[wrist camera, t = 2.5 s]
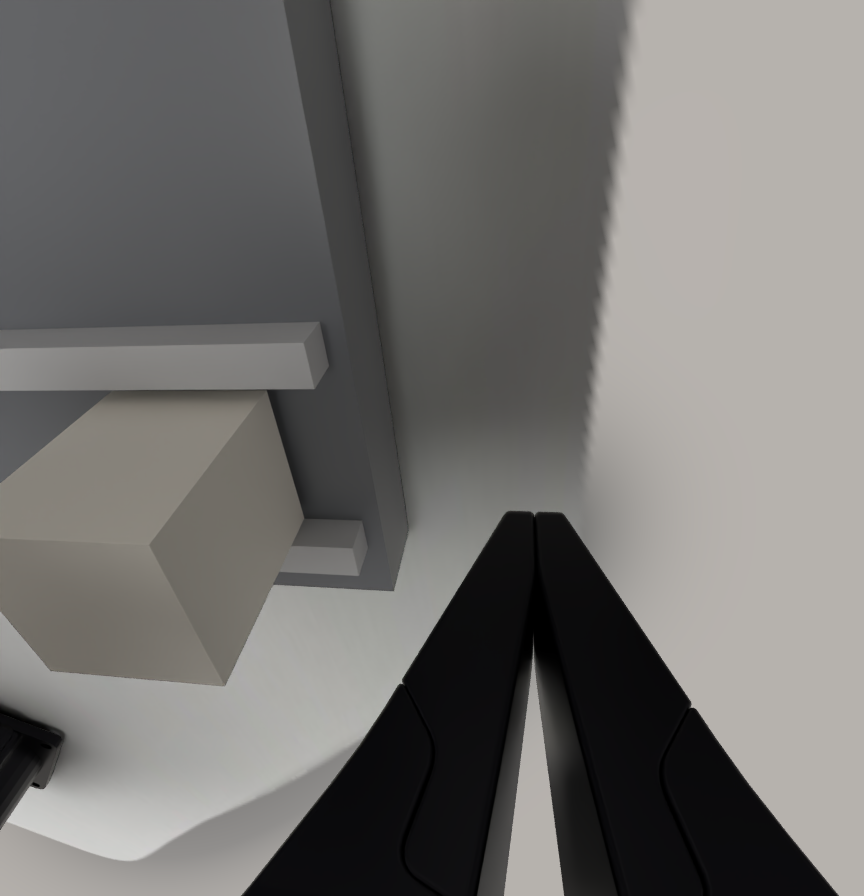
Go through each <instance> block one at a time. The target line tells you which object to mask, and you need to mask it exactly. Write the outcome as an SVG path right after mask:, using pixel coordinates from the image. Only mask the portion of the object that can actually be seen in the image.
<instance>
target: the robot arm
mask: <svg viewBox="0 0 864 896" xmlns="http://www.w3.org/2000/svg"><path fill="white" fill-rule="evenodd" d="M533 645H534V662H535V672H536V681H537V689H538V695H539V704H540V711H541V720H542V727H543V735H544V743H545V750H546V758H547V766H548V774H549V781H550V789H551V797H552V805H553V812H554V819H555V828H556V835H557V843H558V851H559V858H560V867H561V874H562V882H563V890H564V896H839V895H838V894H837V893H836V892H835V891H834V889H833V888H832V887H831V886H830V884H829V883H828V882H827V881H826V880H825V878H824V877H823V876H822V875H821V874H820V872H819V871H818V870H817V869H816V867H815V866H814V865H813V864H812V862H811V861H810V860H809V859H808V858H807V856H806V855H805V854H804V853H803V852H802V850H801V849H800V848H799V847H798V845H797V844H796V843H795V842H794V841H793V839H792V838H791V837H790V836H789V835H788V833H787V832H786V831H785V829H784V828H783V827H782V826H781V824H780V823H779V822H778V821H777V819H776V818H775V817H774V815H773V814H772V813H771V812H770V810H769V809H768V808H767V807H766V805H765V804H764V803H763V802H762V800H761V799H760V798H759V796H758V795H757V794H756V793H755V791H754V790H753V789H752V788H751V786H750V785H749V784H748V782H747V781H746V780H745V778H744V777H743V776H742V774H741V773H740V771H739V770H738V769H737V767H736V766H735V764H734V763H733V762H732V760H731V759H730V757H729V756H728V755H727V753H726V752H725V750H724V749H723V748H722V746H721V745H720V744H719V742H718V741H717V739H716V738H715V736H714V735H713V733H712V732H711V730H710V729H709V728H708V726H707V724H706V723H705V721H704V720H703V718H702V717H701V715H700V714H699V713H698V711H697V710H696V709H695V708H690V707H691V701H690V700H689V698H688V697H687V695H686V694H685V692H684V691H683V689H682V688H681V686H680V685H679V684H678V682H677V681H676V679H675V678H674V676H673V675H672V673H671V672H670V670H669V669H668V667H667V666H666V664H665V663H664V661H663V660H662V658H661V657H660V656H659V654H658V652H657V651H656V649H655V648H654V647H653V645H652V644H651V642H650V641H649V639H648V638H647V636H646V635H645V633H644V632H643V630H642V629H641V627H640V626H639V624H638V623H637V621H636V620H635V618H634V617H633V615H632V614H631V613H630V611H629V610H628V608H627V607H626V605H625V604H624V602H623V601H622V599H621V598H620V596H619V595H618V593H617V592H616V591H615V589H614V587H613V586H612V585H611V583H610V581H609V580H608V579H607V577H606V576H605V574H604V573H603V571H602V570H601V568H600V567H599V565H598V564H597V562H596V561H595V559H594V558H593V556H592V555H591V554H590V552H589V550H588V549H587V548H586V546H585V545H584V543H583V542H582V540H581V539H580V537H579V536H578V534H577V533H576V531H575V530H574V528H573V527H572V525H571V524H570V522H569V521H568V519H567V518H566V517H565V515H564V514H562V513H560V512H537V513H536V514H535V517H534V514H533V513H532V512H530V511H508V512H506V513H505V514H504V516H503V517H502V519H501V521H500V522H499V524H498V525H497V527H496V529H495V530H494V532H493V533H492V535H491V537H490V538H489V540H488V542H487V543H486V545H485V546H484V548H483V550H482V551H481V553H480V554H479V556H478V558H477V559H476V561H475V563H474V564H473V566H472V567H471V569H470V571H469V572H468V574H467V575H466V577H465V579H464V580H463V582H462V584H461V585H460V587H459V588H458V590H457V592H456V593H455V595H454V596H453V598H452V600H451V601H450V603H449V605H448V606H447V608H446V609H445V611H444V613H443V614H442V616H441V617H440V619H439V621H438V622H437V624H436V626H435V627H434V629H433V630H432V632H431V634H430V635H429V637H428V638H427V640H426V642H425V643H424V645H423V647H422V648H421V650H420V651H419V653H418V655H417V656H416V658H415V659H414V661H413V663H412V664H411V666H410V668H409V669H408V671H407V672H406V674H405V676H404V677H403V679H402V683H403V684H399V685H398V686H397V688H396V690H395V691H394V693H393V695H392V696H391V698H390V699H389V701H388V703H387V704H386V706H385V707H384V709H383V711H382V712H381V714H380V715H379V717H378V718H377V720H376V721H375V723H374V724H373V726H372V727H371V729H370V730H369V732H368V733H367V735H366V736H365V738H364V739H363V741H362V742H361V744H360V745H359V747H358V748H357V749H356V750H355V752H354V753H353V755H352V756H351V757H350V759H349V760H348V761H347V763H346V764H345V765H344V766H343V768H342V769H341V770H340V772H339V773H338V774H337V776H336V777H335V779H334V780H333V781H332V782H331V784H330V785H329V786H328V788H327V789H326V790H325V791H324V793H323V794H322V795H321V796H320V798H319V799H318V800H317V801H316V803H315V804H314V805H313V806H312V808H311V809H310V810H309V811H308V813H307V814H306V815H305V817H304V818H303V819H302V820H301V822H300V823H299V824H298V825H297V827H296V828H295V829H294V830H293V832H292V833H291V834H290V836H289V837H288V838H287V839H286V841H285V842H284V843H283V845H282V846H281V847H280V848H279V849H278V851H277V852H276V853H275V854H274V856H273V857H272V858H271V859H270V861H269V862H268V863H267V864H266V866H265V867H264V868H263V869H262V871H261V872H260V873H259V875H258V876H257V877H256V878H255V880H254V881H253V882H252V883H251V885H250V886H249V887H248V888H247V889H246V891H245V892H244V893H243V894H242V895H241V896H504V888H505V881H506V873H507V865H508V857H509V849H510V841H511V832H512V824H513V816H514V808H515V800H516V792H517V784H518V776H519V768H520V759H521V751H522V743H523V735H524V727H525V719H526V711H527V703H528V695H529V686H530V679H531V669H532V659H533ZM62 743H63V739H62V738H61V737H60V736H58V735H56V734H54V733H51V732H49V731H46V730H43V729H41V728H38V727H35V726H33V725H30V724H27V723H25V722H22V721H19V720H17V719H14V718H11V717H9V716H6V715H3V714H1V713H0V830H1V828H2V827H3V825H4V824H5V822H6V821H7V819H8V818H9V816H10V815H11V813H12V812H13V810H14V809H15V807H16V806H17V804H18V803H19V801H20V800H21V798H22V797H23V795H24V794H25V792H26V791H27V789H28V788H29V786H31V787H34V788H38V789H44V788H45V787H46V786H47V784H48V783H49V781H50V779H51V776H52V773H53V770H54V767H55V764H56V761H57V758H58V755H59V752H60V749H61V746H62Z"/></svg>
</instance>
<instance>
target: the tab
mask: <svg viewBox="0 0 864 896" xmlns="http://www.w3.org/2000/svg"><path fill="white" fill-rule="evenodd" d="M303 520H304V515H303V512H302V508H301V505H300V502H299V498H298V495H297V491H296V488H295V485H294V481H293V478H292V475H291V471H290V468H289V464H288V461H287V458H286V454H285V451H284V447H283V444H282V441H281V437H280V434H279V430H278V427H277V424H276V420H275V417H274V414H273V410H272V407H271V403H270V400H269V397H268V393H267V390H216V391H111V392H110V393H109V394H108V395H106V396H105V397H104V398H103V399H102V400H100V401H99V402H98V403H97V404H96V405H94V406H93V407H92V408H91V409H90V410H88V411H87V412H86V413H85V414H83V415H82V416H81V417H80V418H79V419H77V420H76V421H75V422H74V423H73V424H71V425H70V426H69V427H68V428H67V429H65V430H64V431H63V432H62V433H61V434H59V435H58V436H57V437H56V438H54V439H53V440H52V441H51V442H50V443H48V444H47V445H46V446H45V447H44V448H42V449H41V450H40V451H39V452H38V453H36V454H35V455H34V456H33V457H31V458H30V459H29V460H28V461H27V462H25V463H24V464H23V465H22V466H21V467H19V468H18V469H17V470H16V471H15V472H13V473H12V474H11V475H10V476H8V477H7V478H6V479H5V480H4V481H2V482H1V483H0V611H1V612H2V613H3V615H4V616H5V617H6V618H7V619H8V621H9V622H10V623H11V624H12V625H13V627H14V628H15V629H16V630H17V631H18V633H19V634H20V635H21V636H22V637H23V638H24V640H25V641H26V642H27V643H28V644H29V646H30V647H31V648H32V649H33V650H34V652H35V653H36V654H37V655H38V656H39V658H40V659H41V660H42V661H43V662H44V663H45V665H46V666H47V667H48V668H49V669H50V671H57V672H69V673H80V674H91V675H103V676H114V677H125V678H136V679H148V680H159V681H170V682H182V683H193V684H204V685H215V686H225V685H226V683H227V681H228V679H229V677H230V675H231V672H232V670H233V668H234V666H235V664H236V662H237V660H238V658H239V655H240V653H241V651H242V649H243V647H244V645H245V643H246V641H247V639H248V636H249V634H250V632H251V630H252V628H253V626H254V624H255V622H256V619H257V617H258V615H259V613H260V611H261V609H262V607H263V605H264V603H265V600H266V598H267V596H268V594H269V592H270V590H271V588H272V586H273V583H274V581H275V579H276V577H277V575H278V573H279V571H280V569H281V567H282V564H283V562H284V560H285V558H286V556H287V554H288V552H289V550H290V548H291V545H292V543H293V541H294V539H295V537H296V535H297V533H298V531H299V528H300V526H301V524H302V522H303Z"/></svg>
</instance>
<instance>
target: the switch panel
mask: <svg viewBox="0 0 864 896" xmlns="http://www.w3.org/2000/svg"><path fill="white" fill-rule="evenodd" d="M216 390H267V393H268V397H269V400H270V403H271V407H272V410H273V414H274V417H275V420H276V424H277V427H278V430H279V434H280V437H281V441H282V444H283V447H284V451H285V454H286V458H287V461H288V464H289V468H290V471H291V475H292V478H293V481H294V485H295V488H296V491H297V495H298V498H299V502H300V505H301V508H302V512H303V515H304V520H303V522H302V524H301V526H300V528H299V531H298V533H297V535H296V537H295V539H294V541H293V543H292V545H291V548H290V550H289V552H288V554H287V556H286V558H285V560H284V562H283V564H282V567H281V569H280V571H279V573H278V575H277V577H276V579H275V581H274V583H273V585H291V586H309V587H327V588H345V589H363V590H381V591H394V588H395V584H396V580H397V576H398V572H399V568H400V564H401V560H402V555H403V551H404V547H405V543H406V539H407V535H408V531H409V530H408V523H407V516H406V509H405V503H404V496H403V489H402V483H401V476H400V469H399V463H398V456H397V449H396V442H395V436H394V429H393V422H392V416H391V409H390V402H389V396H388V389H387V382H386V375H385V369H384V362H383V355H382V349H381V342H380V335H379V328H378V322H377V315H376V308H375V302H374V295H373V288H372V282H371V275H370V268H369V261H368V255H367V248H366V241H365V235H364V228H363V221H362V215H361V208H360V201H359V194H358V188H357V181H356V174H355V168H354V161H353V154H352V148H351V141H350V134H349V127H348V121H347V114H346V107H345V101H344V94H343V87H342V81H341V74H340V67H339V60H338V54H337V47H336V40H335V34H334V27H333V20H332V14H331V7H330V0H0V483H1V482H2V481H4V480H5V479H6V478H7V477H8V476H10V475H11V474H12V473H13V472H15V471H16V470H17V469H18V468H19V467H21V466H22V465H23V464H24V463H25V462H27V461H28V460H29V459H30V458H31V457H33V456H34V455H35V454H36V453H38V452H39V451H40V450H41V449H42V448H44V447H45V446H46V445H47V444H48V443H50V442H51V441H52V440H53V439H54V438H56V437H57V436H58V435H59V434H61V433H62V432H63V431H64V430H65V429H67V428H68V427H69V426H70V425H71V424H73V423H74V422H75V421H76V420H77V419H79V418H80V417H81V416H82V415H83V414H85V413H86V412H87V411H88V410H90V409H91V408H92V407H93V406H94V405H96V404H97V403H98V402H99V401H100V400H102V399H103V398H104V397H105V396H106V395H108V394H109V393H110V392H111V391H216Z"/></svg>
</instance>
